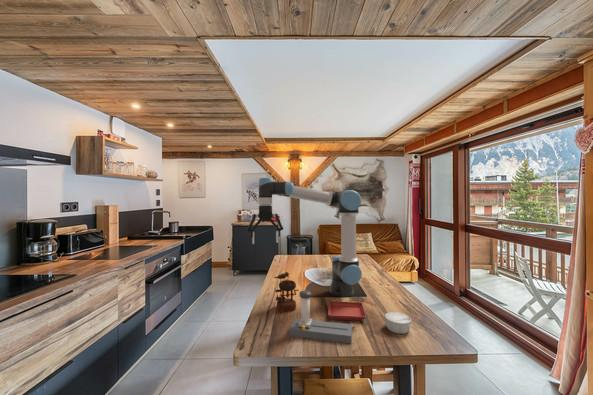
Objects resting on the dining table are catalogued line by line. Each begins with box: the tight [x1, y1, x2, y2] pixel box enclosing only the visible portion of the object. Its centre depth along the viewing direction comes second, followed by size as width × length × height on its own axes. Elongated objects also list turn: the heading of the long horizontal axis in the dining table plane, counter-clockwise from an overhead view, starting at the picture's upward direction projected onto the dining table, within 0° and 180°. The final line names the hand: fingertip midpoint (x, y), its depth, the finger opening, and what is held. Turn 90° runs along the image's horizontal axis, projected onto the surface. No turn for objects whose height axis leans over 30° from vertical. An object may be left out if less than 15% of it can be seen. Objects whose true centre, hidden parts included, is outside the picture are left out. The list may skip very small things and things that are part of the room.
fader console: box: [289, 318, 353, 344], centre depth 111 cm, size 26×10×4 cm, turn 77°
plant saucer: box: [327, 300, 367, 322], centre depth 132 cm, size 18×18×3 cm
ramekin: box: [384, 311, 412, 335], centre depth 116 cm, size 11×11×5 cm
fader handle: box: [298, 290, 313, 328], centre depth 113 cm, size 5×6×14 cm
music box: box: [273, 271, 300, 313], centre depth 140 cm, size 15×11×20 cm
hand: (265, 243), depth 143 cm, fingers open, 13 cm apart
